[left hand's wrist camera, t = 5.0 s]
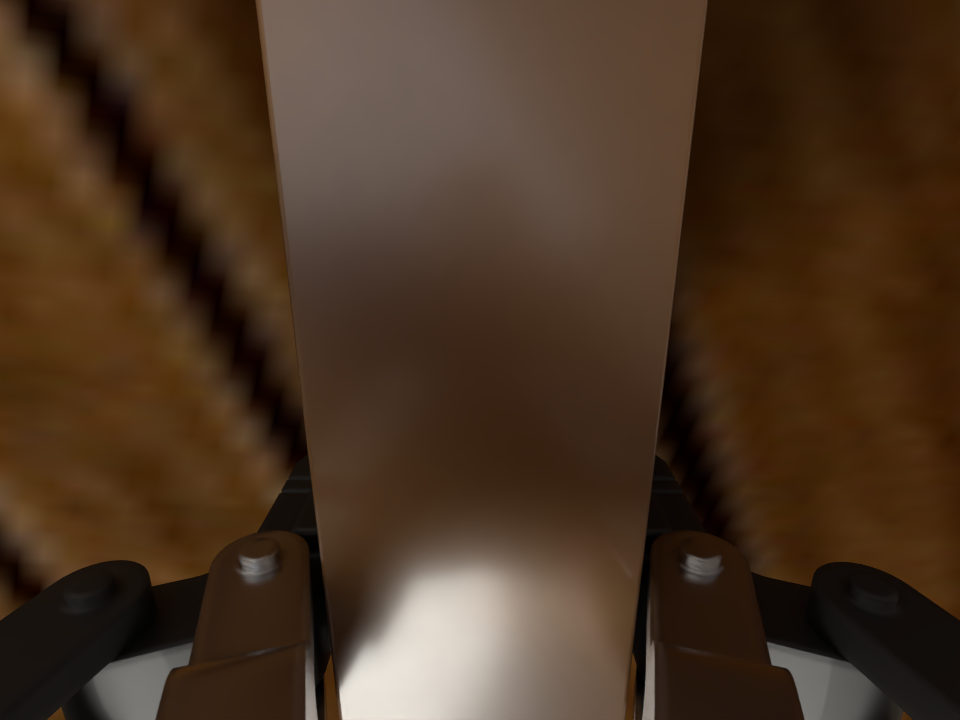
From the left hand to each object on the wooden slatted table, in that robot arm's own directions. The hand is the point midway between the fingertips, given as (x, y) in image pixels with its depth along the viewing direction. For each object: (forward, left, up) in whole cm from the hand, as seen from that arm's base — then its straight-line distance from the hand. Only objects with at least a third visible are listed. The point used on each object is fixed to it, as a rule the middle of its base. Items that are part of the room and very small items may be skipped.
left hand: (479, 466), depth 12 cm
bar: (+7, +20, -2) cm, 21 cm away
